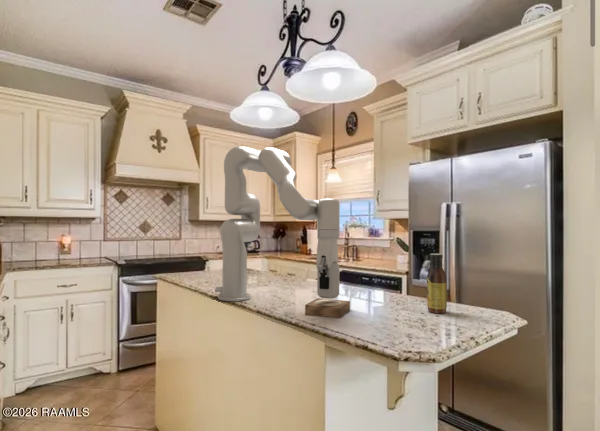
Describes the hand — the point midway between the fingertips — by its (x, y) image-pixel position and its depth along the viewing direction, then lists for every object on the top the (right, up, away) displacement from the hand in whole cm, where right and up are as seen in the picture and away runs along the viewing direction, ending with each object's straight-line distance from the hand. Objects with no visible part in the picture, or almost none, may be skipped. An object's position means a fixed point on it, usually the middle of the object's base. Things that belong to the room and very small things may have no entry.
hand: (328, 286), depth 125 cm
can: (0, -4, 0) cm, 4 cm away
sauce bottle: (+37, -9, +1) cm, 38 cm away
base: (0, -8, 0) cm, 8 cm away
